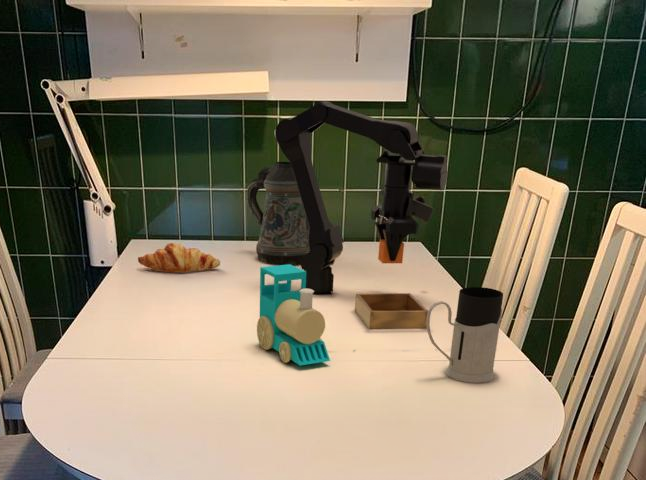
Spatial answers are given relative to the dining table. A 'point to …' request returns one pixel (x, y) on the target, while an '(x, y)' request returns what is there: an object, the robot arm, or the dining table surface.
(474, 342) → the glass holder
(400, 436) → the dining table surface
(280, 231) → the beer stein
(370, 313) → the wooden box
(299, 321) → the toy train
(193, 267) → the croissant
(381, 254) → the toy bear
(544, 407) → the dining table surface
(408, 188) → the robot arm
